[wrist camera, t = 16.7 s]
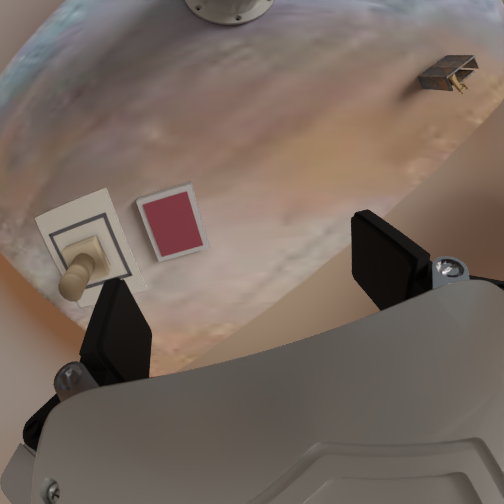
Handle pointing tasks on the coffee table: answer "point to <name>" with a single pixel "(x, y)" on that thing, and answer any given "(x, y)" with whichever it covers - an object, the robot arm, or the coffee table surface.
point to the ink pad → (173, 221)
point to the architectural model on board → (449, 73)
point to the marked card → (87, 225)
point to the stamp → (83, 267)
